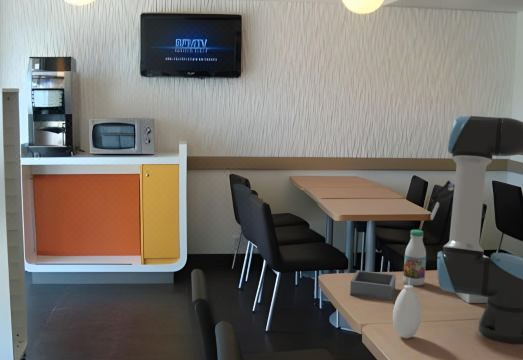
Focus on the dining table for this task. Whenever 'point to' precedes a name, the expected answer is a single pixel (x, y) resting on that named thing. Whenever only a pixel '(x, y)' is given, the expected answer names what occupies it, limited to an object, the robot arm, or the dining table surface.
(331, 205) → the dining table surface
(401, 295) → the white squeeze bottle
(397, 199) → the dining table surface
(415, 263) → the milk bottle
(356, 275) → the box
